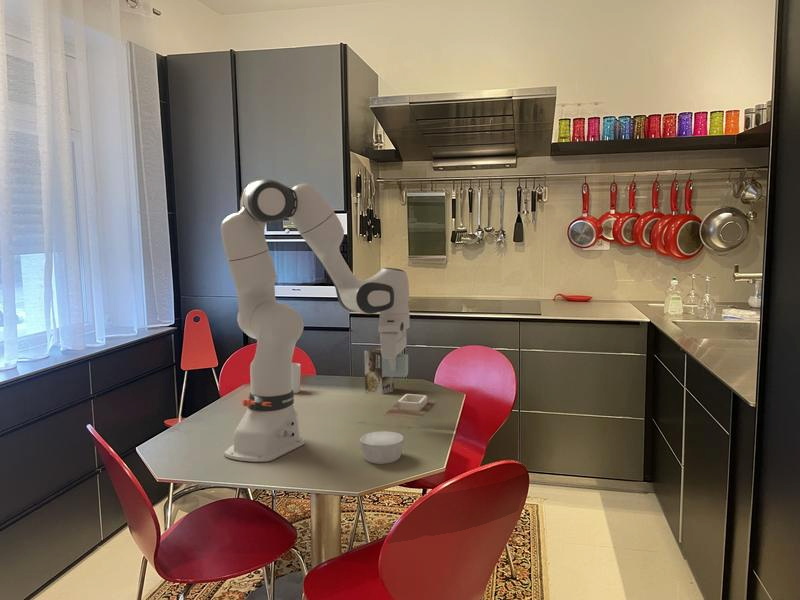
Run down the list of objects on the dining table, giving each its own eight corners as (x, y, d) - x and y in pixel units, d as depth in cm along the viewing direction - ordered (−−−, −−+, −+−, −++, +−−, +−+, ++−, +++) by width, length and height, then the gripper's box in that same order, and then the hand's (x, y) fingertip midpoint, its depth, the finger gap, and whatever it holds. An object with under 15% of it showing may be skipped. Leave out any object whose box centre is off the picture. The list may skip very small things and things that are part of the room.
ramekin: (351, 456, 154) (351, 436, 153) (386, 447, 161) (386, 428, 160) (376, 469, 145) (376, 448, 144) (412, 459, 152) (412, 439, 151)
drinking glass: (303, 389, 222) (302, 363, 221) (298, 394, 215) (297, 367, 214) (285, 389, 222) (285, 362, 221) (280, 393, 216) (279, 366, 215)
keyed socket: (419, 411, 189) (419, 403, 189) (397, 409, 191) (397, 401, 191) (427, 402, 198) (427, 395, 198) (405, 401, 201) (405, 393, 200)
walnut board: (420, 421, 182) (420, 418, 182) (383, 418, 185) (383, 414, 185) (436, 404, 201) (436, 400, 201) (402, 401, 204) (402, 398, 204)
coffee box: (394, 394, 214) (394, 349, 213) (382, 397, 210) (381, 352, 208) (376, 389, 220) (376, 346, 219) (364, 393, 216) (363, 349, 214)
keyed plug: (405, 377, 175) (405, 357, 174) (382, 376, 176) (382, 356, 176) (408, 373, 179) (408, 354, 179) (385, 372, 181) (385, 353, 180)
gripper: (391, 317, 187) (391, 360, 188) (376, 327, 167) (377, 375, 168) (411, 317, 186) (411, 361, 187) (398, 327, 166) (399, 376, 167)
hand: (395, 368), depth 178 cm, fingers closed on keyed plug, 4 cm apart
